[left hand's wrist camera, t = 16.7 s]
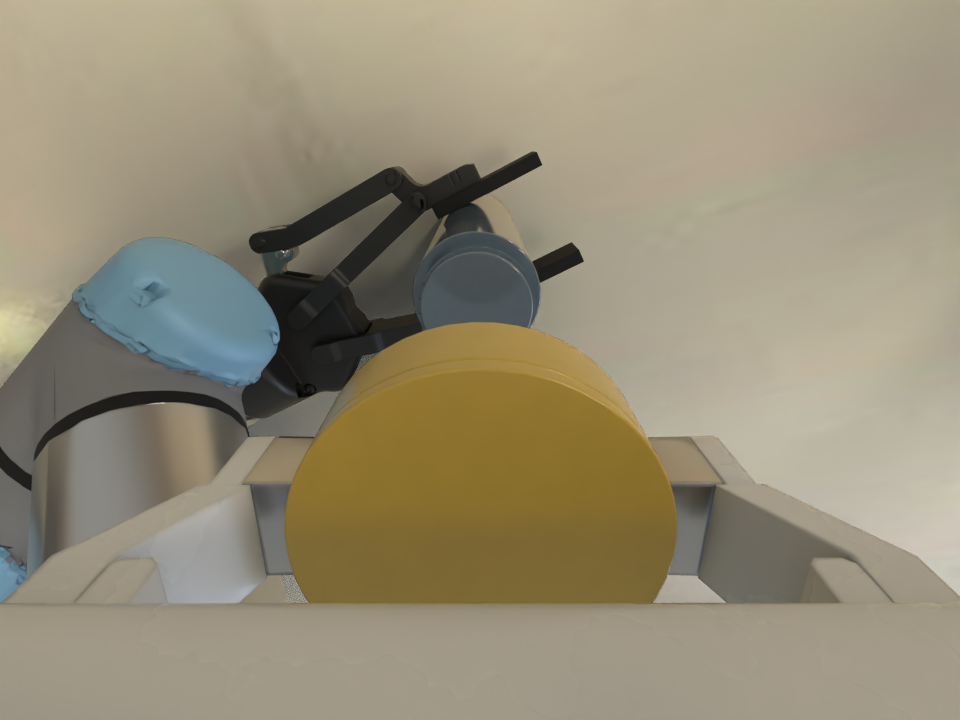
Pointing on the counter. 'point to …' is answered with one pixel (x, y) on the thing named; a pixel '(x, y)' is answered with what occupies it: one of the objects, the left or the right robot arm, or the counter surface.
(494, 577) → the lid
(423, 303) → the jar
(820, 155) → the counter surface
